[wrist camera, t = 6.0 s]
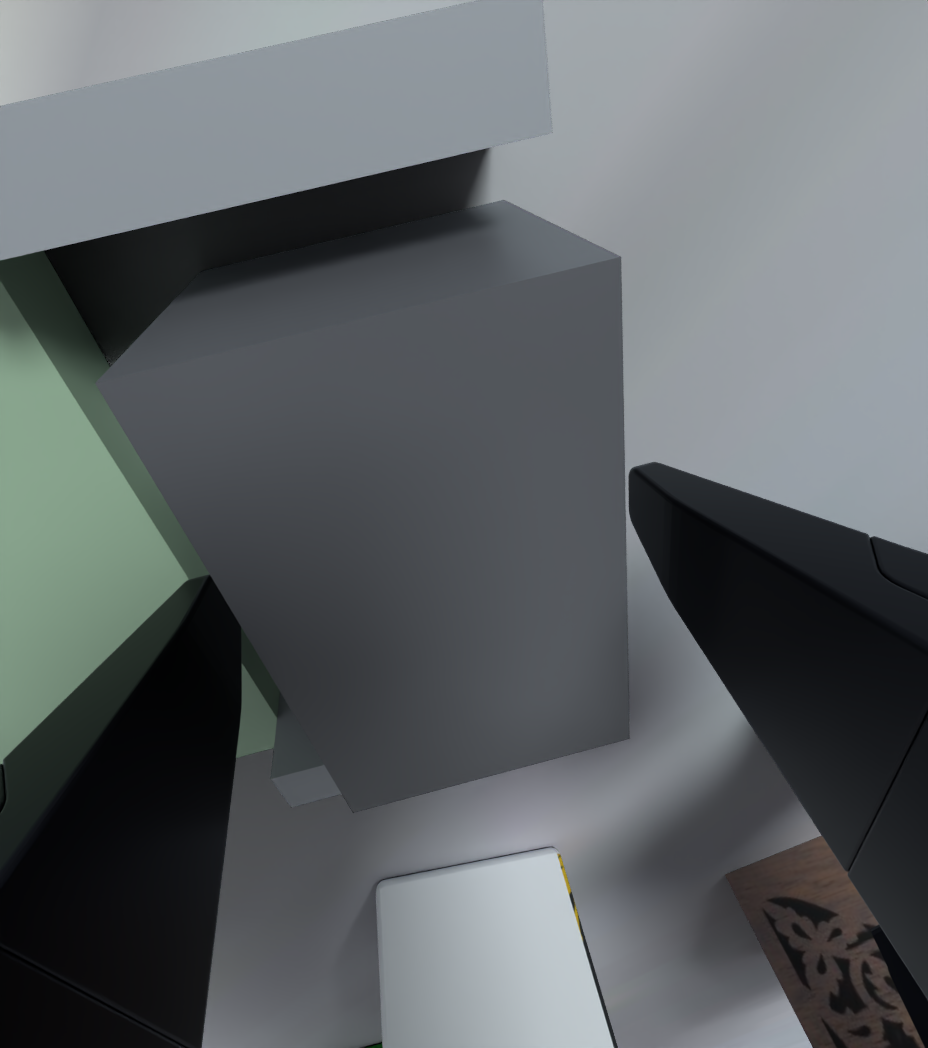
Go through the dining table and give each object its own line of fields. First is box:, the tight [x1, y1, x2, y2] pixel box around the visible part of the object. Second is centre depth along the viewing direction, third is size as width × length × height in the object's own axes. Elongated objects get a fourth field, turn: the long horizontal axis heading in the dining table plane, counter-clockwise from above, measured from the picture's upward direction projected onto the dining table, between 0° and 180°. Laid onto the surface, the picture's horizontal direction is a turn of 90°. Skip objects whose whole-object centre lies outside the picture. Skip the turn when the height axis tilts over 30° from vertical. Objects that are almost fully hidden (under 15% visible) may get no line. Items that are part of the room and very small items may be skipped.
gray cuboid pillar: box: [95, 200, 630, 813], centre depth 10 cm, size 8×5×5 cm, turn 10°
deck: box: [0, 0, 553, 808], centre depth 10 cm, size 12×15×3 cm
